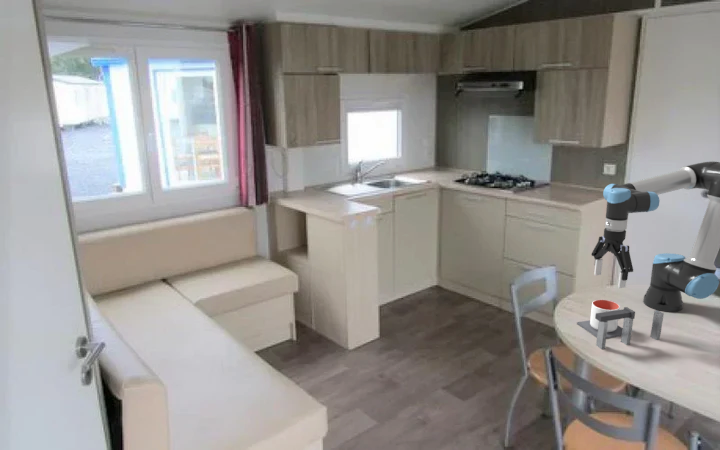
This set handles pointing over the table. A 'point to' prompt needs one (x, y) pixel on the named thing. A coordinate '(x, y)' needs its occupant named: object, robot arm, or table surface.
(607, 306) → the cup
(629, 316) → the bar
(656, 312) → the posts
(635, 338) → the table surface
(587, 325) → the mat
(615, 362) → the table surface
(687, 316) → the table surface
